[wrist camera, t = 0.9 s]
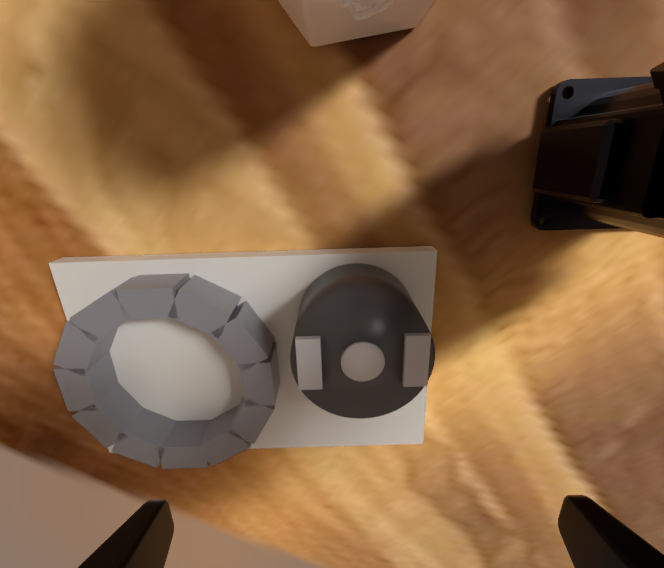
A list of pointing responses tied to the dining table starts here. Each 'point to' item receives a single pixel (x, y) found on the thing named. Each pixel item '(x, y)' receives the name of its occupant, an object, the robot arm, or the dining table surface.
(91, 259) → the plate
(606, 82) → the robot arm
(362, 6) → the jar
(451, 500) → the dining table surface
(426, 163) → the dining table surface
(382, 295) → the cap
